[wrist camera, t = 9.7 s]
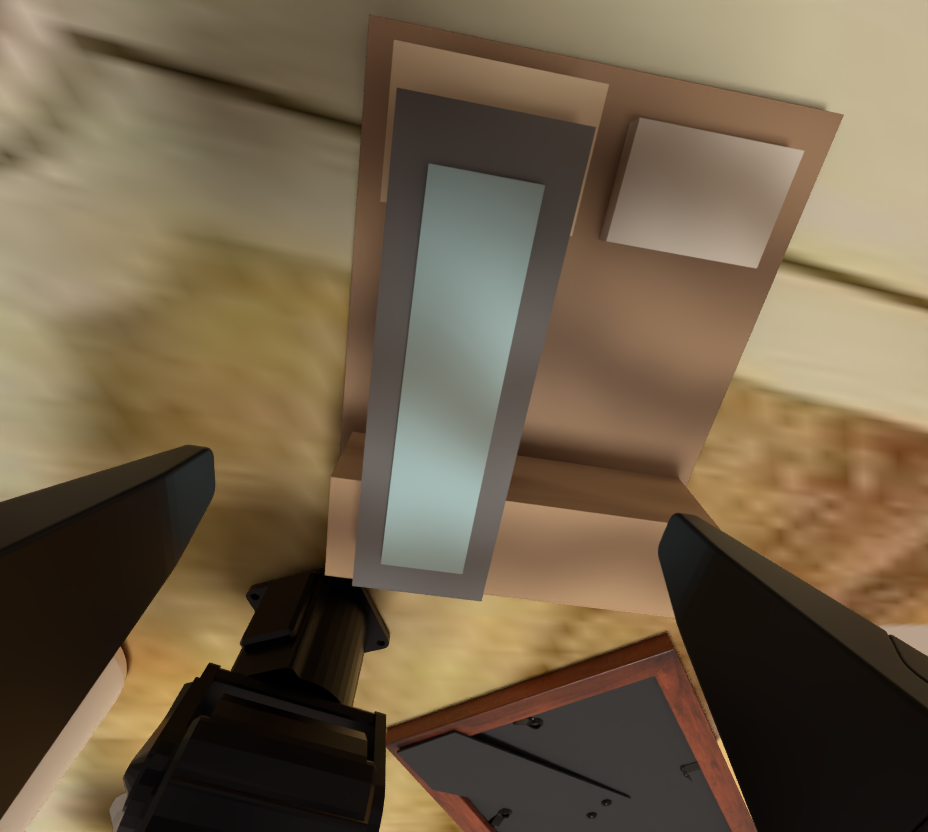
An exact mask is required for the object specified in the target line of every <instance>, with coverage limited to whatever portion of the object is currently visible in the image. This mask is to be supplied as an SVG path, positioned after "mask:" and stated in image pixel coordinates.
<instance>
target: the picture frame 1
mask: <svg viewBox="0 0 928 832" xmlns="http://www.w3.org/2000/svg"><path fill="white" fill-rule="evenodd" d="M595 130H596V127H593V126H588V125H583V124H578V123H573V122H568V121H563V120H558V119H553V118H548V117H543V116H538V115H533V114H528V113H523V112H518V111H513V110H508V109H503V108H498V107H493V106H488V105H483V104H478V103H473V102H467V101H462V100H457V99H452V98H447V97H442V96H437V95H432V94H427V93H422V92H417V91H412V90H407V89H402V88H397V90H396V101H395V112H394V124H393V135H392V146H391V157H390V168H389V179H388V191H387V202H386V213H385V224H384V235H383V247H382V258H381V269H380V280H379V291H378V302H377V314H376V325H375V336H374V347H373V358H372V369H371V381H370V392H369V403H368V414H367V425H366V436H365V448H364V459H363V470H362V481H361V492H360V504H359V515H358V526H357V537H356V548H355V559H354V571H353V582H352V586H358V587H366V588H374V589H383V590H391V591H399V592H408V593H416V594H425V595H433V596H441V597H450V598H458V599H466V600H475V601H482V597H483V593H484V589H485V585H486V580H487V576H488V572H489V568H490V564H491V560H492V556H493V551H494V547H495V543H496V539H497V535H498V531H499V527H500V523H501V518H502V514H503V510H504V506H505V502H506V498H507V494H508V489H509V485H510V481H511V477H512V473H513V469H514V465H515V461H516V456H517V452H518V448H519V444H520V440H521V436H522V432H523V427H524V423H525V419H526V415H527V411H528V407H529V403H530V399H531V394H532V390H533V386H534V382H535V378H536V374H537V370H538V365H539V361H540V357H541V353H542V349H543V345H544V341H545V337H546V332H547V328H548V324H549V320H550V316H551V312H552V308H553V303H554V299H555V295H556V291H557V287H558V283H559V279H560V275H561V270H562V266H563V262H564V258H565V254H566V250H567V246H568V241H569V237H570V233H571V229H572V225H573V221H574V217H575V213H576V208H577V204H578V200H579V196H580V192H581V188H582V184H583V179H584V175H585V171H586V167H587V163H588V159H589V155H590V151H591V146H592V142H593V138H594V134H595Z"/></svg>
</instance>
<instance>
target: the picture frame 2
mask: <svg viewBox="0 0 928 832" xmlns="http://www.w3.org/2000/svg"><path fill="white" fill-rule="evenodd" d="M386 748H387V749H388V750H389V751H390V752H391V753H392V754H393V755H394V756H395V757H396V758H397V760H398V761H399V762H400V763H401V764H402V765H403V766H404V767H405V768H406V769H407V770H408V771H409V772H410V774H411V775H412V776H413V777H414V778H415V779H416V780H417V781H418V782H419V783H420V784H421V785H422V786H423V788H424V789H425V790H426V791H427V792H428V793H429V794H430V795H431V796H432V797H433V798H434V799H435V800H436V802H437V803H438V804H439V805H440V806H441V807H442V808H443V809H444V810H445V811H446V812H447V813H448V814H449V816H450V817H451V818H452V819H453V820H454V821H455V822H456V823H457V824H458V825H459V826H460V827H461V828H462V830H463V831H464V832H757V830H756V827H755V825H754V823H753V821H752V818H751V816H750V814H749V812H748V810H747V807H746V805H745V803H744V801H743V799H742V796H741V794H740V792H739V790H738V788H737V785H736V783H735V781H734V779H733V777H732V774H731V772H730V770H729V768H728V766H727V763H726V761H725V759H724V757H723V755H722V753H721V750H720V748H719V746H718V744H717V741H716V739H715V737H714V735H713V733H712V730H711V728H710V726H709V724H708V722H707V719H706V717H705V715H704V713H703V710H702V708H701V706H700V704H699V702H698V699H697V697H696V695H695V693H694V691H693V688H692V686H691V684H690V682H689V680H688V677H687V675H686V673H685V671H684V669H683V666H682V664H681V662H680V660H679V658H678V655H677V653H676V651H675V649H674V647H673V645H672V643H671V641H670V639H669V636H668V634H667V633H666V634H663V635H661V636H658V637H655V638H652V639H649V640H646V641H643V642H640V643H637V644H634V645H631V646H628V647H625V648H623V649H620V650H617V651H614V652H611V653H608V654H605V655H602V656H599V657H596V658H593V659H590V660H587V661H585V662H582V663H579V664H576V665H573V666H570V667H567V668H564V669H561V670H558V671H555V672H552V673H549V674H547V675H544V676H541V677H538V678H535V679H532V680H529V681H526V682H523V683H520V684H517V685H514V686H511V687H508V688H506V689H503V690H500V691H497V692H494V693H491V694H488V695H485V696H482V697H479V698H476V699H473V700H470V701H468V702H465V703H462V704H459V705H456V706H453V707H450V708H447V709H444V710H441V711H438V712H435V713H432V714H430V715H427V716H424V717H421V718H418V719H415V720H412V721H409V722H406V723H403V724H400V725H397V726H394V727H391V728H389V729H387V732H386Z"/></svg>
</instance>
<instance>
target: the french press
mask: <svg viewBox="0 0 928 832" xmlns="http://www.w3.org/2000/svg"><path fill="white" fill-rule="evenodd" d="M126 799H127V794H126V793H124V794H122V795H120V796H118V797H116V798H115V800H114V802H113V804H112V806H111V808H110V809H109V812H110V816H111V821H112V825H113V831H112V832H117V829H118V826H119V824H120V822H121V819H122V817H123V815H124V813H123V812H122V810H123V806H124V804H125V801H126Z"/></svg>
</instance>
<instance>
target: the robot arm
mask: <svg viewBox="0 0 928 832" xmlns="http://www.w3.org/2000/svg"><path fill="white" fill-rule="evenodd" d="M214 492H215V471H214V456H213V452H212V450H211V449H210V448H208V447H202V446H195V445H185V446H181V447H178V448H175V449H172V450H168V451H165V452H162V453H158V454H155V455H152V456H149V457H145V458H142V459H139V460H136V461H132V462H129V463H126V464H123V465H119V466H116V467H113V468H110V469H106V470H103V471H100V472H97V473H93V474H90V475H87V476H84V477H80V478H77V479H74V480H71V481H67V482H64V483H61V484H58V485H54V486H51V487H48V488H45V489H41V490H38V491H35V492H32V493H28V494H25V495H22V496H19V497H15V498H12V499H9V500H6V501H2V502H0V820H1V819H2V817H3V816H4V814H5V813H6V811H7V810H8V809H9V807H10V806H11V804H12V803H13V801H14V800H15V798H16V797H17V795H18V794H19V793H20V791H21V790H22V788H23V787H24V785H25V784H26V782H27V781H28V780H29V778H30V777H31V775H32V774H33V772H34V771H35V769H36V768H37V767H38V765H39V764H40V762H41V761H42V759H43V758H44V756H45V755H46V753H47V752H48V751H49V749H50V748H51V746H52V745H53V743H54V742H55V740H56V739H57V738H58V736H59V735H60V733H61V732H62V730H63V729H64V727H65V726H66V725H67V723H68V722H69V720H70V719H71V717H72V716H73V714H74V713H75V712H76V710H77V709H78V707H79V706H80V704H81V703H82V701H83V700H84V698H85V697H86V696H87V694H88V693H89V691H90V690H91V688H92V687H93V685H94V684H95V683H96V681H97V680H98V678H99V677H100V675H101V674H102V672H103V671H104V670H105V668H106V667H107V665H108V664H109V662H110V661H111V659H112V658H113V657H114V655H115V654H116V652H117V651H118V649H119V648H120V646H121V645H122V643H123V642H124V641H125V639H126V638H127V636H128V635H129V633H130V632H131V630H132V629H133V628H134V626H135V625H136V623H137V622H138V620H139V619H140V617H141V616H142V615H143V613H144V612H145V610H146V609H147V607H148V606H149V604H150V603H151V602H152V600H153V599H154V597H155V596H156V594H157V593H158V591H159V590H160V588H161V587H162V586H163V584H164V583H165V581H166V580H167V578H168V577H169V575H170V574H171V572H172V571H173V569H174V568H175V566H176V564H177V563H178V561H179V559H180V558H181V556H182V554H183V552H184V550H185V548H186V547H187V545H188V543H189V541H190V539H191V537H192V535H193V533H194V532H195V530H196V528H197V526H198V524H199V522H200V520H201V519H202V517H203V515H204V513H205V511H206V509H207V507H208V505H209V504H210V502H211V500H212V498H213V495H214ZM658 558H659V561H660V565H661V569H662V572H663V576H664V580H665V583H666V587H667V591H668V594H669V598H670V602H671V605H672V609H673V613H674V616H675V619H676V622H677V626H678V629H679V631H680V634H681V637H682V640H683V642H684V645H685V647H686V650H687V653H688V655H689V658H690V660H691V663H692V665H693V668H694V671H695V673H696V676H697V678H698V681H699V683H700V686H701V689H702V691H703V694H704V696H705V699H706V701H707V704H708V707H709V709H710V712H711V714H712V717H713V719H714V722H715V725H716V727H717V730H718V732H719V735H720V737H721V740H722V743H723V745H724V748H725V750H726V753H727V755H728V758H729V761H730V763H731V766H732V768H733V771H734V773H735V776H736V779H737V781H738V784H739V786H740V789H741V791H742V794H743V797H744V799H745V802H746V804H747V807H748V809H749V812H750V815H751V817H752V820H753V822H754V825H755V827H756V830H757V832H928V656H926V655H925V654H923V653H921V652H920V651H918V650H916V649H915V648H913V647H911V646H910V645H908V644H906V643H905V642H903V641H901V640H900V639H898V638H897V637H895V636H893V635H888V634H887V632H886V631H885V630H883V629H882V628H880V627H878V626H877V625H875V624H873V623H872V622H870V621H869V620H867V619H865V618H864V617H862V616H860V615H859V614H857V613H855V612H854V611H852V610H851V609H849V608H847V607H846V606H844V605H842V604H841V603H839V602H837V601H836V600H834V599H832V598H831V597H829V596H828V595H826V594H824V593H823V592H821V591H819V590H818V589H816V588H814V587H813V586H811V585H810V584H808V583H806V582H805V581H803V580H801V579H800V578H798V577H796V576H795V575H793V574H792V573H790V572H788V571H787V570H785V569H783V568H782V567H780V566H778V565H777V564H775V563H773V562H772V561H770V560H769V559H767V558H765V557H764V556H762V555H760V554H759V553H757V552H755V551H754V550H752V549H751V548H749V547H747V546H746V545H744V544H742V543H741V542H739V541H737V540H736V539H734V538H733V537H731V536H729V535H728V534H726V533H724V532H723V531H721V530H719V529H718V528H716V527H715V526H713V525H711V524H710V523H708V522H706V521H705V520H703V519H701V518H700V517H698V516H696V515H693V514H686V513H675V514H673V515H672V516H671V517H670V519H669V521H668V524H667V526H666V528H665V531H664V533H663V535H662V538H661V540H660V542H659V546H658ZM352 582H353V579H352V578H344V577H335V576H327V575H325V568H322V569H318V570H314V571H309V572H305V573H301V574H297V575H293V576H289V577H285V578H280V579H276V580H272V581H269V582H265V583H261V584H257V585H253V586H251V587H250V588H249V590H248V592H247V594H246V598H247V600H248V601H249V603H250V604H251V606H252V607H253V609H254V610H255V613H254V615H253V617H252V619H251V621H250V623H249V625H248V627H247V629H246V631H245V633H244V635H243V637H242V639H241V641H240V645H241V646H242V649H241V651H240V653H239V655H238V657H237V659H236V661H235V663H234V665H233V667H232V669H231V671H229V670H225V669H222V668H220V667H221V666H220V665H216V664H213V663H209V664H208V665H207V667H206V669H205V670H204V672H203V674H202V675H201V677H200V678H199V677H196V678H195V679H194V681H193V682H190V683H186V684H184V686H183V688H182V689H181V691H180V693H179V695H178V696H177V698H176V700H175V702H174V703H173V705H172V707H171V708H170V710H169V712H168V713H167V715H166V716H165V718H164V720H163V721H162V722H161V724H160V725H159V727H158V728H157V729H156V730H155V732H154V733H153V734H152V736H151V737H150V738H149V739H148V741H147V742H146V743H145V745H144V746H143V747H142V749H141V750H140V751H139V752H138V754H137V755H136V756H135V758H134V759H133V760H132V762H131V763H130V765H129V767H128V769H127V770H126V772H125V775H124V777H123V782H124V786H125V790H126V794H127V799H126V801H125V804H124V806H123V810H122V812H123V813H124V815H123V817H122V819H121V822H120V824H119V826H118V829H117V832H379V828H380V824H381V818H382V813H383V806H384V798H385V764H386V714H383V713H380V712H376V711H375V712H374V713H372V712H369V711H365V710H362V709H358V708H355V707H353V703H354V698H355V693H356V689H357V684H358V680H359V675H360V670H361V666H362V661H363V656H364V653H366V652H370V651H375V650H379V649H384V648H386V647H387V646H388V645H389V641H390V636H389V634H388V632H387V630H386V628H385V626H384V624H383V622H382V620H381V618H380V616H379V614H378V612H377V610H376V608H375V606H374V604H373V602H372V600H371V598H370V596H369V594H368V592H367V590H366V588H365V587H358V586H352ZM256 594H258V595H256Z"/></svg>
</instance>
